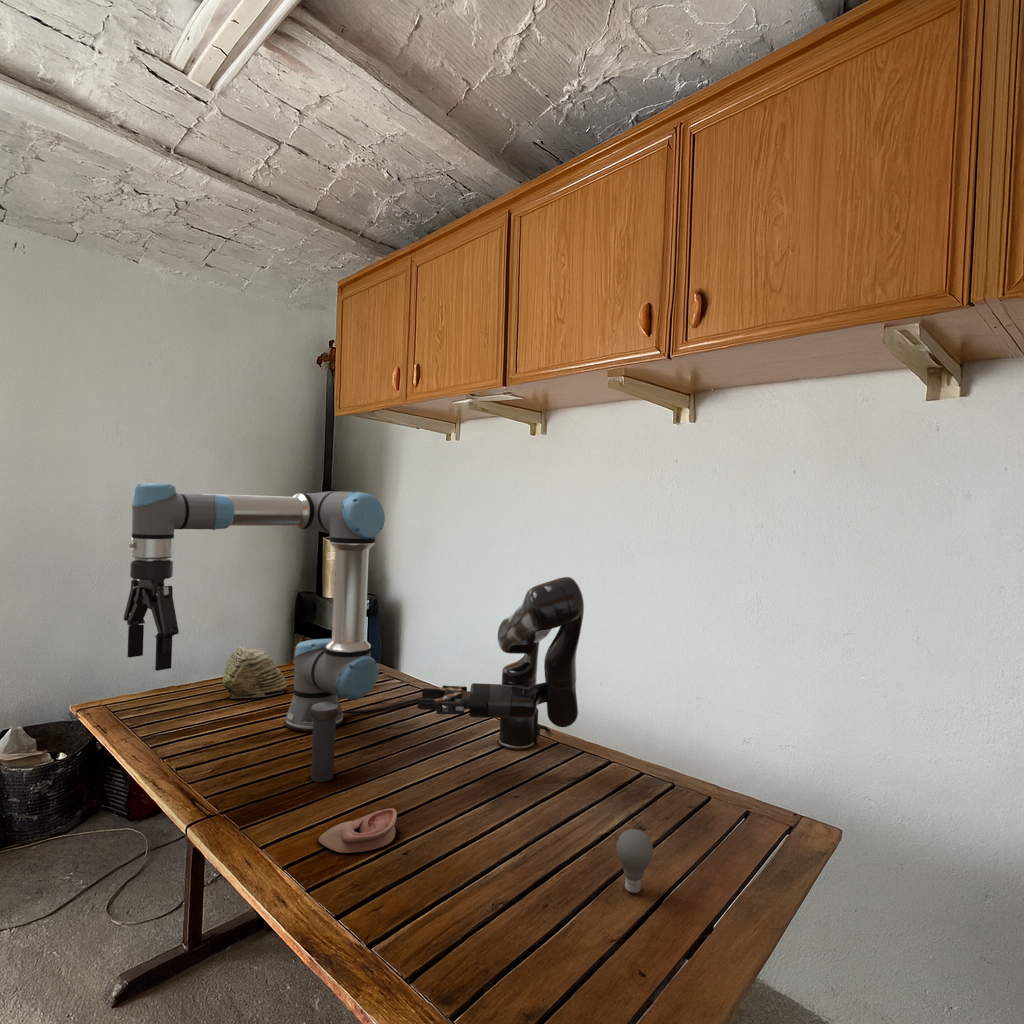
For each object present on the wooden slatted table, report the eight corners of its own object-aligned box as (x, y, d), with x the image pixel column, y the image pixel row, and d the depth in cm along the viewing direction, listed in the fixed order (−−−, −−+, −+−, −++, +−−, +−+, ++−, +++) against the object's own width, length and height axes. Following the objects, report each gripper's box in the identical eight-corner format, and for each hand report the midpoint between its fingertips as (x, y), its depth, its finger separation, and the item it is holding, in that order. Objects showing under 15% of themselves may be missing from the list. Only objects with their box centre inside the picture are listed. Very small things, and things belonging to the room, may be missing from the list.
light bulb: (610, 879, 108) (613, 822, 108) (644, 879, 109) (647, 822, 109) (619, 902, 102) (622, 840, 102) (655, 901, 103) (658, 840, 103)
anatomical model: (310, 826, 114) (340, 797, 125) (309, 848, 114) (339, 817, 125) (379, 837, 111) (403, 806, 122) (378, 859, 111) (403, 827, 123)
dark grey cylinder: (318, 771, 146) (321, 703, 146) (337, 774, 145) (340, 706, 144) (306, 779, 141) (309, 710, 141) (325, 783, 140) (328, 713, 140)
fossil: (218, 695, 195) (220, 647, 195) (278, 685, 208) (279, 640, 207) (228, 703, 189) (230, 653, 188) (289, 692, 201) (290, 645, 201)
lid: (320, 710, 146) (320, 700, 146) (343, 713, 145) (343, 704, 145) (305, 718, 141) (306, 708, 141) (329, 721, 139) (329, 711, 139)
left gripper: (108, 554, 134) (104, 654, 134) (159, 565, 118) (155, 678, 119) (146, 552, 140) (143, 648, 140) (199, 563, 124) (195, 671, 124)
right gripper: (491, 676, 153) (424, 674, 152) (491, 693, 139) (417, 690, 138) (490, 707, 153) (423, 705, 152) (489, 727, 139) (415, 725, 138)
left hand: (148, 662), depth 129 cm, fingers open, 13 cm apart
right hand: (420, 698), depth 145 cm, fingers open, 8 cm apart
